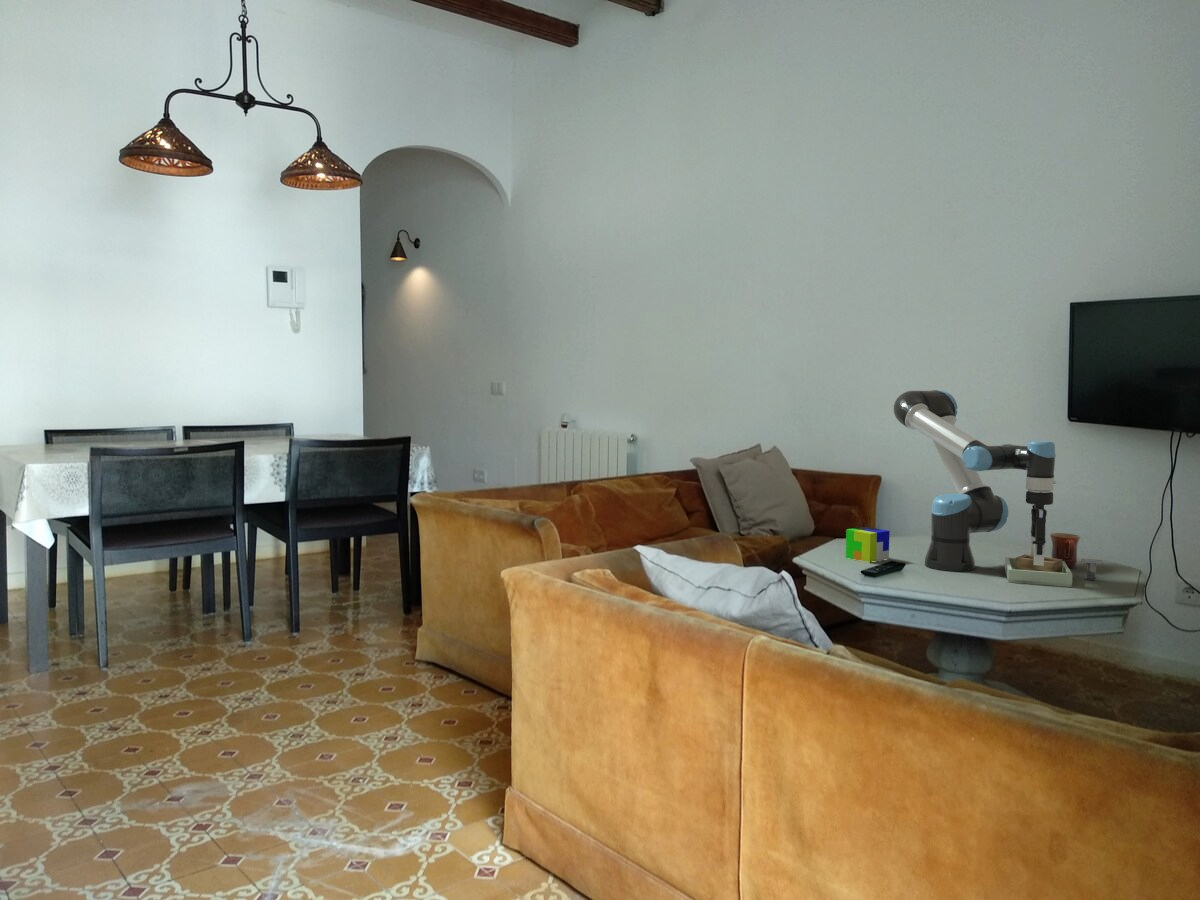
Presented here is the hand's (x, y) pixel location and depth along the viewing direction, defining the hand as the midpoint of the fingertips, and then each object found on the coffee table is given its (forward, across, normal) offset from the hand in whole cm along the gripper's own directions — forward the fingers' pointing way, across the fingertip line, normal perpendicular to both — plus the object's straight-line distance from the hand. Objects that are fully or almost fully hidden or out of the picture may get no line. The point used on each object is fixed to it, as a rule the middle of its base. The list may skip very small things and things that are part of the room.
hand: (1036, 561), depth 268 cm
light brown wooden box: (+4, 0, 0) cm, 4 cm away
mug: (+5, +19, -10) cm, 22 cm away
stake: (+5, +1, -15) cm, 16 cm away
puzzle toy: (+5, +9, +51) cm, 52 cm away
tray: (+5, -1, 0) cm, 5 cm away
